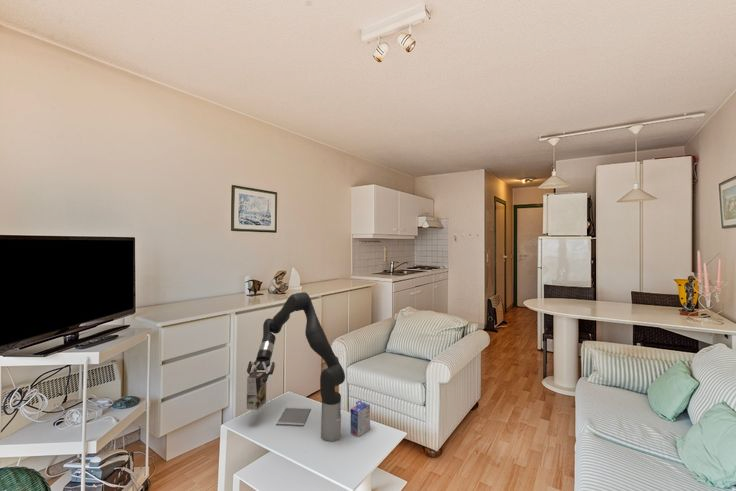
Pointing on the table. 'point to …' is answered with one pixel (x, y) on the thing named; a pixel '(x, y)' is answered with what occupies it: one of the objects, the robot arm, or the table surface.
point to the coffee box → (256, 391)
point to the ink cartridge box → (360, 418)
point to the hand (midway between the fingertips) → (257, 381)
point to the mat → (294, 416)
